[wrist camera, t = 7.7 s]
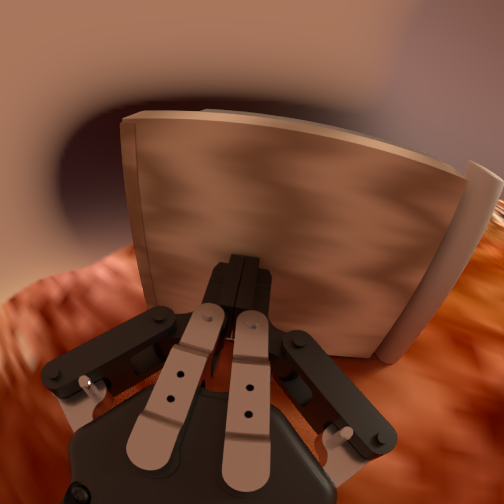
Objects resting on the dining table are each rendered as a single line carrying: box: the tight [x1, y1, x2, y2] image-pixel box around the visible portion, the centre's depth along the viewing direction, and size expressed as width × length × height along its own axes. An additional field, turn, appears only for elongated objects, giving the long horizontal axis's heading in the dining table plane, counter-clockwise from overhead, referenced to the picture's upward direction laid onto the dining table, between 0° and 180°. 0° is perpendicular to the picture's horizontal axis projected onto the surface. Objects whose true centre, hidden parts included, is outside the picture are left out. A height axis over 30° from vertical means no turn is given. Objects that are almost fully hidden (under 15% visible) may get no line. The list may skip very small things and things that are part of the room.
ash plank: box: [120, 111, 468, 358], centre depth 15 cm, size 16×2×14 cm, turn 81°
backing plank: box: [200, 109, 504, 364], centre depth 16 cm, size 17×5×15 cm, turn 81°
